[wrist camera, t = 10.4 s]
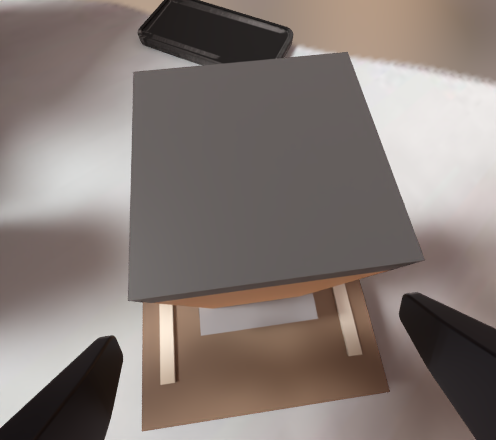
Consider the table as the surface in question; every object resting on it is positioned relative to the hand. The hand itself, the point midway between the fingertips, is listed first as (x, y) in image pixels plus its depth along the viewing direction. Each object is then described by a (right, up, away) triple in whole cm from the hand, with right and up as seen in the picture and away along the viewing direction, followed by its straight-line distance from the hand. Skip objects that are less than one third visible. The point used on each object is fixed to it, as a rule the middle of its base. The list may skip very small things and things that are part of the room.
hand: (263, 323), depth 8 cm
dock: (0, -1, +11) cm, 11 cm away
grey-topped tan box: (0, 0, +9) cm, 9 cm away
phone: (-4, +22, +20) cm, 30 cm away
